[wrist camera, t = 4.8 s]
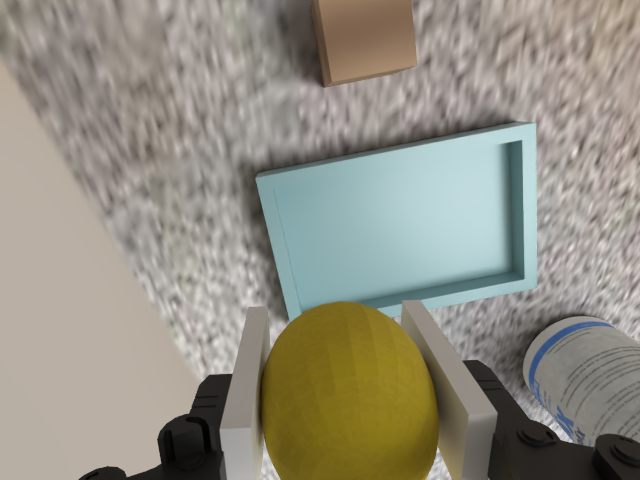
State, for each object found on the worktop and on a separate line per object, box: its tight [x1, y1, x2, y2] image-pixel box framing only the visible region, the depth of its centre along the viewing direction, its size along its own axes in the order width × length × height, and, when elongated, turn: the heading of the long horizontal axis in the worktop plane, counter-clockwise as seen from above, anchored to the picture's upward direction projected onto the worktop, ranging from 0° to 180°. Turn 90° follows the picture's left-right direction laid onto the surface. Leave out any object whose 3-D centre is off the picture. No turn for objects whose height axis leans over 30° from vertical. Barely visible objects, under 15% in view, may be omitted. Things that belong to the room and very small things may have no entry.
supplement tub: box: [523, 316, 640, 447], centre depth 30 cm, size 10×10×15 cm
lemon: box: [260, 301, 439, 480], centre depth 13 cm, size 6×6×8 cm
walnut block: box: [311, 0, 417, 88], centre depth 25 cm, size 5×5×6 cm
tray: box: [255, 122, 537, 322], centre depth 31 cm, size 13×20×2 cm, turn 101°
